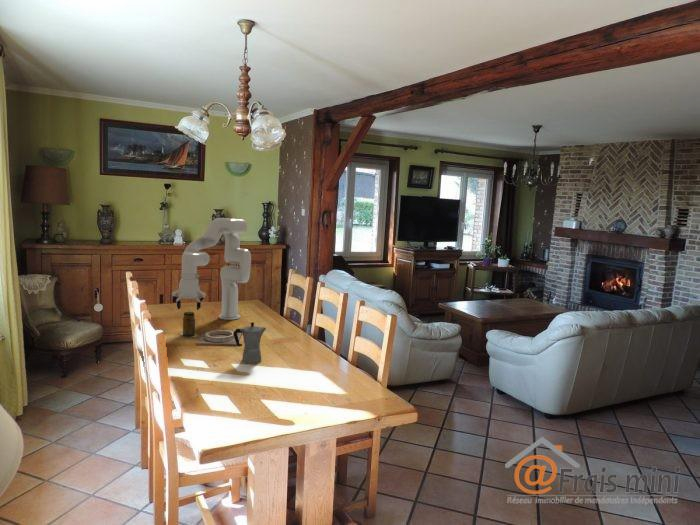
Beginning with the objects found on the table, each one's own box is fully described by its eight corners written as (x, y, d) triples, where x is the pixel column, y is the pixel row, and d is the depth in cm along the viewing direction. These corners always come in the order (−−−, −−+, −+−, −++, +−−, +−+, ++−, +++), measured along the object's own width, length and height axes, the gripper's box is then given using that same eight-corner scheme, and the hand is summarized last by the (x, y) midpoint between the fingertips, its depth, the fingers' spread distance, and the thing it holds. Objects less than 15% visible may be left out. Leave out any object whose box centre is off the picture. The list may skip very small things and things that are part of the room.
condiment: (192, 332, 265) (193, 310, 263) (199, 336, 258) (199, 314, 257) (179, 334, 260) (179, 312, 258) (185, 338, 254) (185, 315, 252)
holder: (204, 333, 264) (204, 327, 263) (242, 334, 266) (242, 328, 265) (196, 344, 244) (196, 339, 244) (236, 345, 246) (237, 340, 245)
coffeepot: (262, 355, 234) (262, 318, 231) (268, 361, 226) (269, 323, 223) (229, 359, 226) (230, 321, 224) (235, 366, 218) (236, 326, 215)
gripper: (207, 276, 259) (207, 308, 261) (174, 274, 258) (173, 306, 260) (204, 278, 252) (204, 311, 254) (170, 277, 250) (169, 309, 252)
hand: (188, 308), depth 257 cm, fingers open, 9 cm apart
